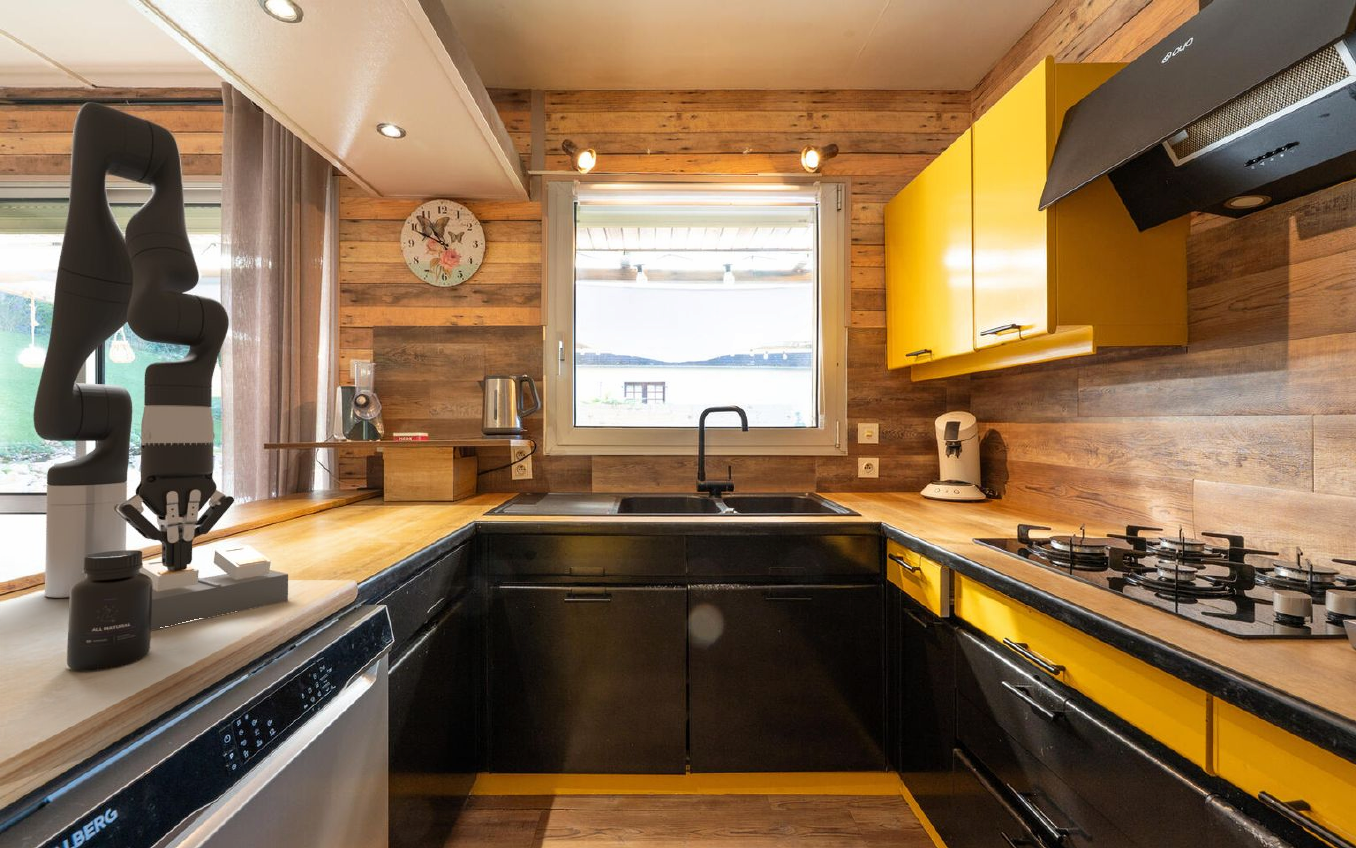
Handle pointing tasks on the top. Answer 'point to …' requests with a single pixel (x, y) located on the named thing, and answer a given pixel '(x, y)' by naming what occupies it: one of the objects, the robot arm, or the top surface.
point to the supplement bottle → (110, 612)
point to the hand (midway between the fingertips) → (176, 569)
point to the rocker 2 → (242, 562)
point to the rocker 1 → (169, 576)
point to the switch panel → (216, 597)
